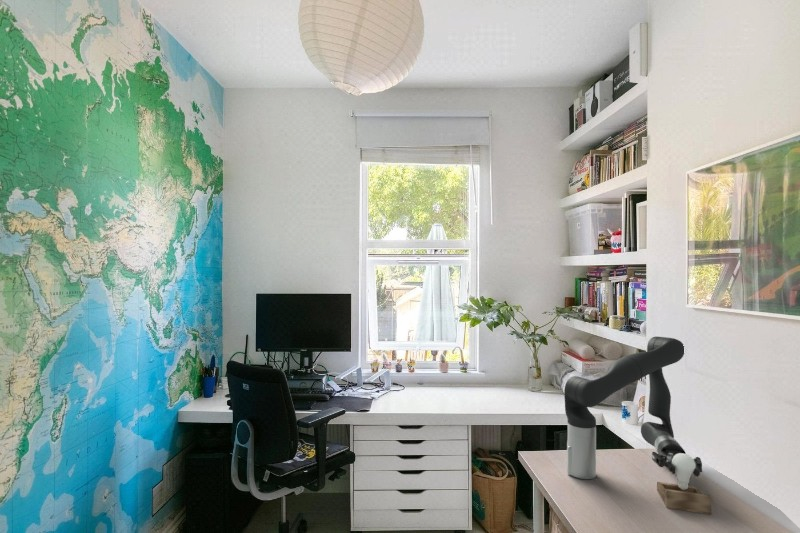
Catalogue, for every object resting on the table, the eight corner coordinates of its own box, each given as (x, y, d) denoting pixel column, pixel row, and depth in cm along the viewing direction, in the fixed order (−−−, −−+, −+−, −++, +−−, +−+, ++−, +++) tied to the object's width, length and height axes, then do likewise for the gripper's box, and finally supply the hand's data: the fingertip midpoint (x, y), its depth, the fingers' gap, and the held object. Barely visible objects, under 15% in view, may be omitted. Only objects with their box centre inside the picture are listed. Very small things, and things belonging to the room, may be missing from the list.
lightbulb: (698, 495, 130) (699, 459, 130) (676, 493, 131) (677, 457, 131) (689, 485, 136) (690, 450, 136) (667, 483, 137) (668, 448, 137)
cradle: (666, 507, 130) (666, 490, 130) (656, 489, 140) (656, 474, 141) (711, 514, 126) (711, 497, 126) (697, 495, 137) (697, 479, 137)
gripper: (645, 436, 149) (658, 456, 133) (694, 441, 145) (713, 463, 129) (645, 458, 149) (658, 480, 133) (694, 464, 145) (713, 488, 129)
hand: (685, 471), depth 131 cm, fingers closed on lightbulb, 5 cm apart
